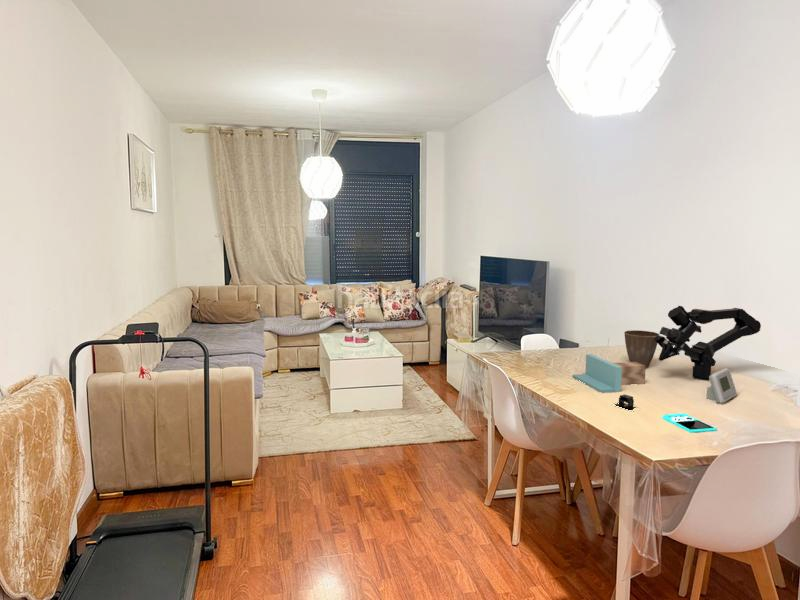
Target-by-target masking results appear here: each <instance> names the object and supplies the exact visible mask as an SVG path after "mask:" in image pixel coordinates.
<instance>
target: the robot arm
mask: <svg viewBox="0 0 800 600" xmlns="http://www.w3.org/2000/svg"><path fill="white" fill-rule="evenodd" d="M667 316H668V318H669V319H670V320H671V321H672V323H673V324H675V325H676V326H677V327H678V328H674V327H671V328H668V327H664V326H662V327H661V328H660V331H659V333H658V334H659V335H658V336H656V337H655V338H654V340H655V341H656V342H657V345H658V346H660V347H661V351H660V354H659V356H658V358H657V359H658V361H660V362H662V361H664V360H668V359H670V358H673V357H675V356H680V352H681V351H683V352H684V355H685V356H687V357H689V358H690V361H691V363H694V365H693V366H692V370H691V371H692V373H691V376H692V377H693V379H694V380H704V381H710V379H709V376H710V375H712V367H714V366H716V360H715V359H714V356H715V353H716V352H718V351H719V350H721V349H723V348H725V347H727V346H728V345H730V344H731V343H733V342H735V341H737V340H739V339H741V338H742V337H747V336H752V335H754V334H759V332H760V331H761V327H762V324H761V322H760V321H759V320H757V319H756V318H755V317H753V316H751V315H750V314H749V313H748V312H746V310H744V309H743V308H738V307H733V308H723V309H714V310H713V309H712V310H709V309H700V308H693V309H691V311H687V310H685V308H684V306H682V305H678V306H677V307H675V308H673V309H670V310H669V311H668V313H667ZM728 319H729V320H731V319H733V321H734V322H735V324H734V326H733V328H731V329H730V330H728V331H726V332H724V333H723V334H721V335H719V336H717V337H716V338H713V339H712V340H710V341H708V342H703V341H697V343H695V344H692V345H691V347H690V346H689V344H687V343H689V342H690V341H691V339H690V338H691V337H692V336H693V335H694V333H696V332H697V333H702V326H701V325H706V324H710V323H712V322H713V321H718V320H728ZM696 323H697V324H696ZM698 324H701V325H698Z"/></svg>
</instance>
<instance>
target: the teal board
mask: <svg viewBox="0 0 800 600" xmlns="http://www.w3.org/2000/svg"><path fill="white" fill-rule="evenodd" d="M613 363H614V362H611V361H609V360H606V359H604V358H601V357H599V356H597V355H595V354H592V353H586V354H585V368H584V370H585V373H581V374H580V373H578V374H572V376H571V377H572V378H573V379H574V378H575V380H576V379H577V381H578V380H580V381H581V382H580V381H579V382H580V383H582V382H583V383H582V384H584V383H585V384H584V385H586V384H587V385H588V386H587V385H586V386H587V387H589V386H590V387H589V388H591V387H592V388H591V389H593V388H594V389H593V390H595V391H597V392H598V393H600V392H602V393H601V394H605V393H604V392H609V393H621V392H622V385H621V375H622V367H620V366H618V365H616V364H613Z"/></svg>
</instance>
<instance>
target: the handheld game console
mask: <svg viewBox="0 0 800 600" xmlns="http://www.w3.org/2000/svg"><path fill="white" fill-rule="evenodd" d="M661 417H662V419H663V420H664V421H666V422H667V423H670V424H672V425H673V426H676V427H678V428H680V429H681V430H683V431H686V432H688V433H689V434H695V433H703V432H705V433H708V432H717V431H718V428H716V427H715V426H712V425H711V424H708V423H706V422H704V421H701V420H700V419H698V418H696V417H694V416H691V415H689V414H687V413H684V412H683V413H670V414H668V413H667V414H664V415H662V416H661Z"/></svg>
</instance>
